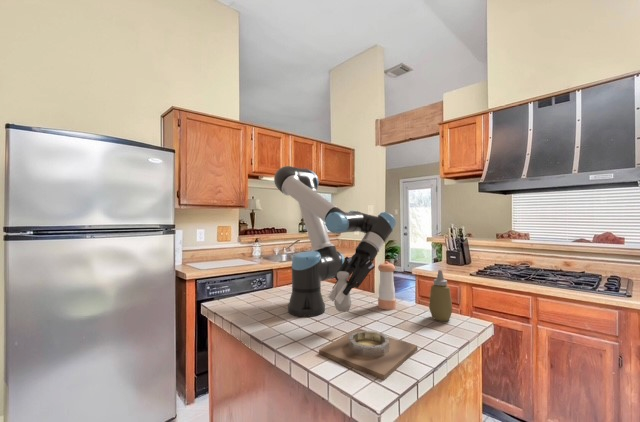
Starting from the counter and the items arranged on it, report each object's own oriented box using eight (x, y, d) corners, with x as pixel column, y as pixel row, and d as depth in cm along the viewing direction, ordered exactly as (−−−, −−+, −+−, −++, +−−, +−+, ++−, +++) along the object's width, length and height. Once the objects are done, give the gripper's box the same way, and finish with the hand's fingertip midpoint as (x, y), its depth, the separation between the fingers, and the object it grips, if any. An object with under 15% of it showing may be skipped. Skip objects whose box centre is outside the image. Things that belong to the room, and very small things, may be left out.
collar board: (319, 354, 80) (318, 340, 80) (358, 331, 95) (358, 320, 96) (384, 380, 67) (384, 364, 67) (417, 349, 83) (417, 336, 83)
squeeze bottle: (442, 324, 102) (441, 273, 102) (424, 317, 109) (424, 269, 109) (457, 320, 106) (457, 271, 106) (439, 313, 113) (438, 267, 113)
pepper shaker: (374, 306, 122) (374, 261, 122) (384, 303, 127) (384, 259, 127) (389, 311, 116) (388, 263, 117) (399, 307, 121) (398, 261, 122)
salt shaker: (350, 313, 95) (350, 274, 95) (333, 312, 96) (333, 273, 96) (351, 307, 101) (352, 270, 101) (335, 306, 102) (336, 269, 102)
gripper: (391, 256, 101) (356, 313, 91) (359, 251, 114) (325, 300, 104) (381, 242, 98) (343, 299, 88) (349, 238, 111) (313, 288, 101)
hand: (333, 300), depth 96 cm, fingers closed on salt shaker, 3 cm apart
